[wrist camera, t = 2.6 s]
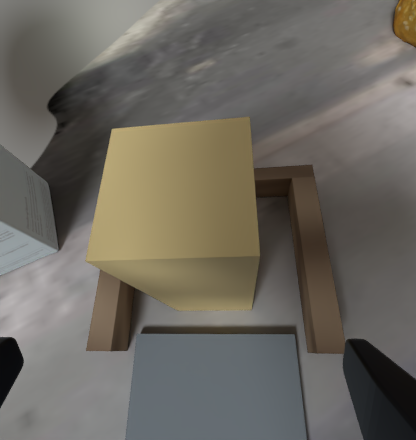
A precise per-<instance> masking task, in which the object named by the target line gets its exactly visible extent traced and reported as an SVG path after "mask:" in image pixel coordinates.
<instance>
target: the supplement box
mask: <svg viewBox="0 0 416 440" xmlns="http://www.w3.org/2000/svg"><path fill="white" fill-rule="evenodd" d="M58 250H59V248H58V241H57V234H56V228H55V221H54V214H53V208H52V201H51V196H50V189H49V185H48V183H47V182H46V181H45V180H44V179H43V178H41V177H40V176H39V175H37V174H36V173H35V172H34V171H32V170H31V169H30V168H29V167H28V166H26V165H25V164H24V163H23V162H21V161H20V160H19V159H18V158H16V157H15V156H14V155H13V154H11V153H10V152H9V151H8V150H6V149H5V148H4V147H3V146H2V145H0V275H3V274H5V273H7V272H10V271H12V270H14V269H17V268H19V267H21V266H24V265H26V264H28V263H31V262H33V261H36V260H38V259H40V258H43V257H45V256H47V255H50V254H52V253H55V252H57V251H58Z"/></svg>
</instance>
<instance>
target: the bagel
mask: <svg viewBox="0 0 416 440" xmlns="http://www.w3.org/2000/svg"><path fill="white" fill-rule="evenodd" d="M393 27H394V31H395V35H396V36H397V37H399V38H400V39H402V40H403V41H404V42H407V43H410V44H411V45H412V46H414V47H416V0H399V3H398V5H397V6H396V9H395V17H394V24H393Z"/></svg>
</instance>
